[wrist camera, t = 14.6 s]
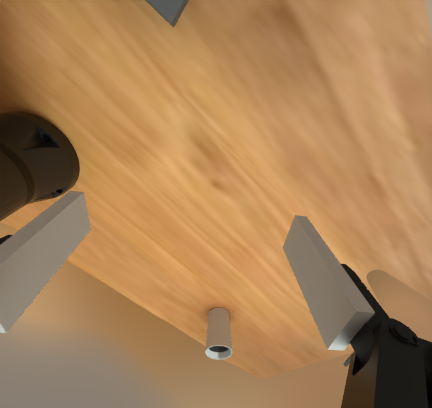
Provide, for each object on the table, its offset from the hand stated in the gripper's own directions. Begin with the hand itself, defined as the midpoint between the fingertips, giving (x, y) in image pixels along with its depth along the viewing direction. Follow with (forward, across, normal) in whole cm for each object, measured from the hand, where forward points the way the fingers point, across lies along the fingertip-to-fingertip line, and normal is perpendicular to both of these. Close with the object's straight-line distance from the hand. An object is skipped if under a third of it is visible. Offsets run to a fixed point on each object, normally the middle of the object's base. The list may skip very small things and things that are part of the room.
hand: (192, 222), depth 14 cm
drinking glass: (+26, +10, -49) cm, 56 cm away
